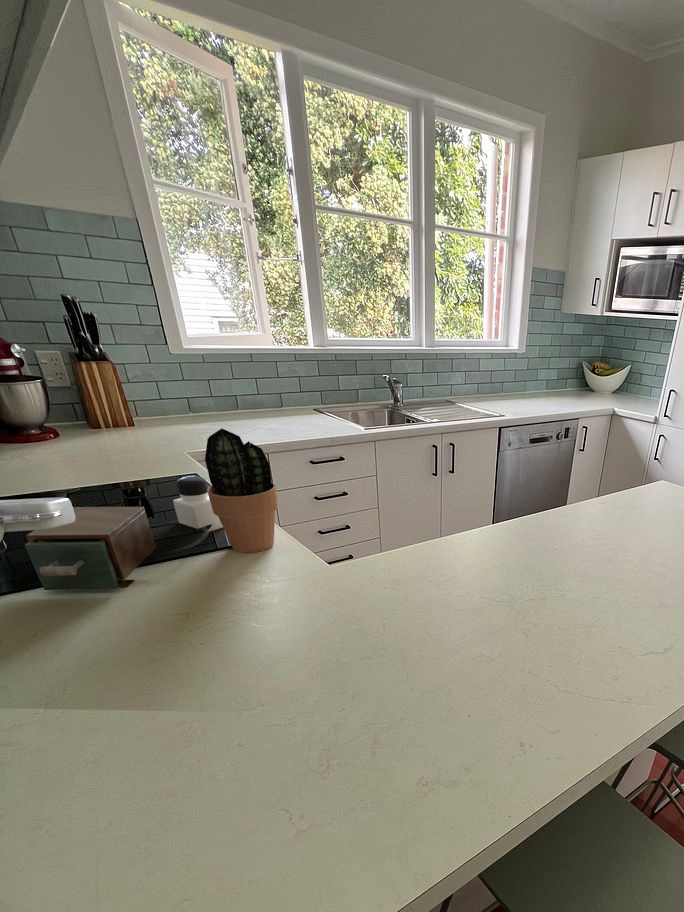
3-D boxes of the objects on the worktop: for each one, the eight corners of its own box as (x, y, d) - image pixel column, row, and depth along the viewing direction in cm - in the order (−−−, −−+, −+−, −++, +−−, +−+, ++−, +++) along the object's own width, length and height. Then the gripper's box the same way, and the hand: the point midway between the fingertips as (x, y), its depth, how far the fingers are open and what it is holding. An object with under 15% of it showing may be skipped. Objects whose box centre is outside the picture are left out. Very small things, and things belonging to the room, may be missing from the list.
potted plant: (274, 558, 116) (252, 436, 103) (210, 556, 116) (180, 434, 103) (292, 535, 128) (274, 423, 115) (233, 533, 128) (209, 420, 114)
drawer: (105, 600, 96) (87, 554, 92) (29, 602, 95) (7, 555, 90) (148, 557, 112) (135, 516, 108) (83, 558, 111) (68, 516, 106)
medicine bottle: (225, 527, 131) (214, 477, 125) (199, 535, 126) (186, 484, 119) (206, 521, 134) (194, 472, 128) (180, 529, 129) (166, 478, 122)
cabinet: (126, 587, 103) (108, 534, 97) (49, 589, 101) (25, 535, 95) (158, 555, 116) (144, 506, 110) (90, 556, 114) (71, 507, 109)
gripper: (42, 492, 70) (84, 484, 82) (-155, 502, 65) (-79, 491, 77) (57, 541, 72) (96, 526, 84) (-133, 554, 67) (-62, 535, 79)
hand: (11, 509), depth 81 cm, fingers open, 8 cm apart
